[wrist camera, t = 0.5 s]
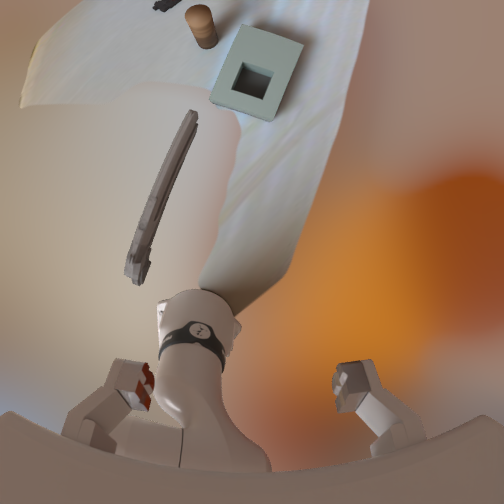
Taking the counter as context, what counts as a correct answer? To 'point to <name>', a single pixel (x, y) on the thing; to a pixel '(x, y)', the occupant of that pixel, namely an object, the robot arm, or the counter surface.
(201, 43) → the walnut dowel
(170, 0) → the handgun
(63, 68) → the counter surface
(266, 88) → the socket block
